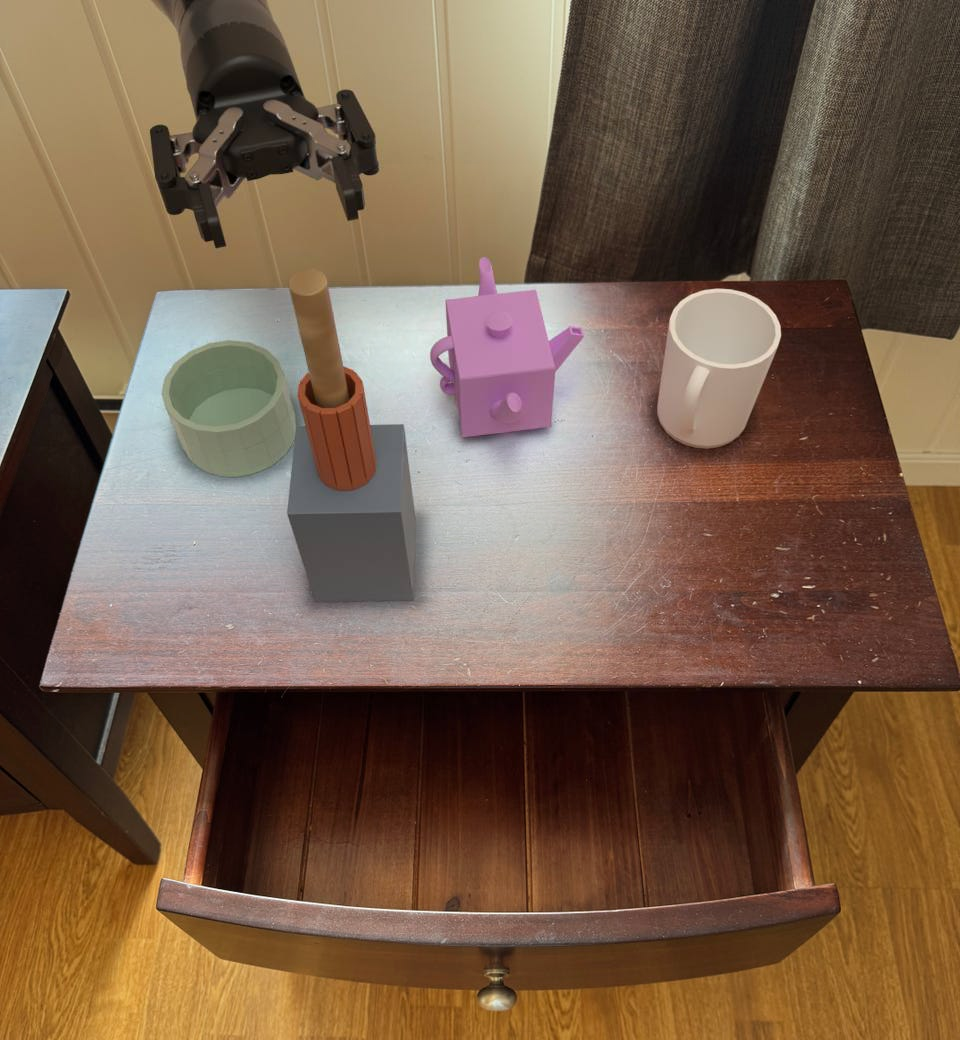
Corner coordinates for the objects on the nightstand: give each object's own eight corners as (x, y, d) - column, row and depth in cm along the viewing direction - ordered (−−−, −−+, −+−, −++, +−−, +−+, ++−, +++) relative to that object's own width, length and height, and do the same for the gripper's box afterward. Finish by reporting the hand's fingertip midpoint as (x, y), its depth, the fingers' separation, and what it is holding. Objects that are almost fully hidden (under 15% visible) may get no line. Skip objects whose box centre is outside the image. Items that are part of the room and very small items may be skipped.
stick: (329, 474, 68) (286, 295, 54) (331, 450, 69) (289, 268, 55) (360, 474, 68) (325, 294, 54) (361, 449, 69) (328, 267, 55)
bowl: (175, 479, 84) (153, 433, 79) (190, 389, 89) (171, 341, 84) (291, 476, 84) (278, 430, 79) (300, 387, 89) (288, 338, 84)
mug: (674, 365, 90) (694, 275, 81) (765, 399, 88) (796, 310, 79) (625, 447, 85) (641, 361, 76) (721, 484, 83) (748, 401, 74)
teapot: (596, 469, 84) (608, 390, 76) (446, 488, 83) (441, 410, 75) (559, 322, 93) (565, 236, 84) (423, 338, 92) (415, 253, 83)
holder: (314, 602, 78) (262, 438, 61) (321, 521, 82) (273, 344, 64) (413, 600, 78) (390, 435, 60) (415, 519, 82) (393, 342, 64)
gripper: (120, 39, 64) (153, 191, 56) (331, 1, 66) (390, 144, 58) (155, 145, 70) (189, 294, 63) (346, 108, 72) (401, 248, 65)
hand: (285, 222), depth 60 cm, fingers open, 8 cm apart
